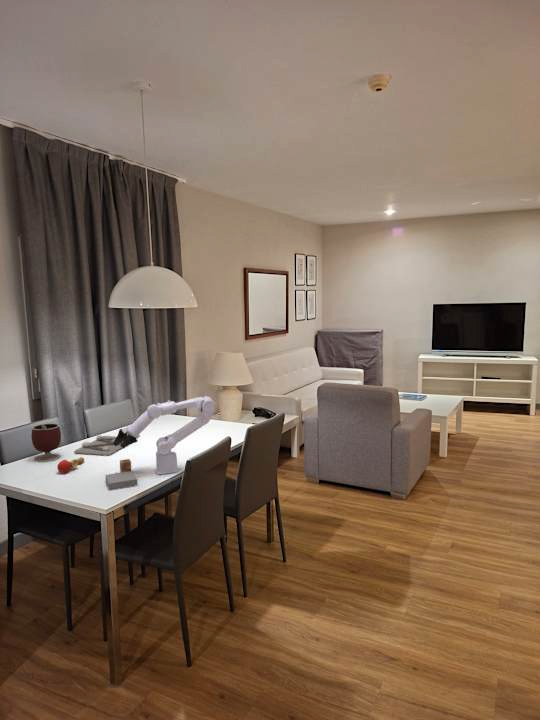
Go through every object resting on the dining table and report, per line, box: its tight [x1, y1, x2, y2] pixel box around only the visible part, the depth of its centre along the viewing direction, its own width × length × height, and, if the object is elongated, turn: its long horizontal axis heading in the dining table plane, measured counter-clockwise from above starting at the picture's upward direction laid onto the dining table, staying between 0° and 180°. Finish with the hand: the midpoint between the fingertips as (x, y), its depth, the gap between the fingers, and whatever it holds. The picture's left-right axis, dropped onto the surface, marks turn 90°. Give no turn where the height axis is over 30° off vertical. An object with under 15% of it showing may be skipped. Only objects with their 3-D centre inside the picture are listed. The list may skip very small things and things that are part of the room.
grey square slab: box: [105, 470, 138, 491], centre depth 224 cm, size 12×12×3 cm
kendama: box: [57, 456, 85, 474], centre depth 245 cm, size 8×6×18 cm
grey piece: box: [73, 434, 128, 457], centre depth 280 cm, size 30×22×7 cm
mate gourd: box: [30, 422, 62, 463], centre depth 258 cm, size 16×14×20 cm
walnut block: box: [119, 458, 132, 473], centre depth 237 cm, size 4×4×6 cm
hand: (118, 445), depth 232 cm, fingers open, 7 cm apart
